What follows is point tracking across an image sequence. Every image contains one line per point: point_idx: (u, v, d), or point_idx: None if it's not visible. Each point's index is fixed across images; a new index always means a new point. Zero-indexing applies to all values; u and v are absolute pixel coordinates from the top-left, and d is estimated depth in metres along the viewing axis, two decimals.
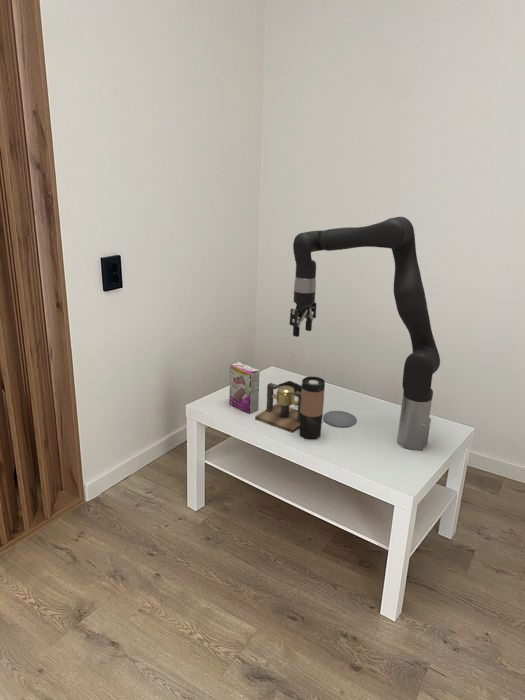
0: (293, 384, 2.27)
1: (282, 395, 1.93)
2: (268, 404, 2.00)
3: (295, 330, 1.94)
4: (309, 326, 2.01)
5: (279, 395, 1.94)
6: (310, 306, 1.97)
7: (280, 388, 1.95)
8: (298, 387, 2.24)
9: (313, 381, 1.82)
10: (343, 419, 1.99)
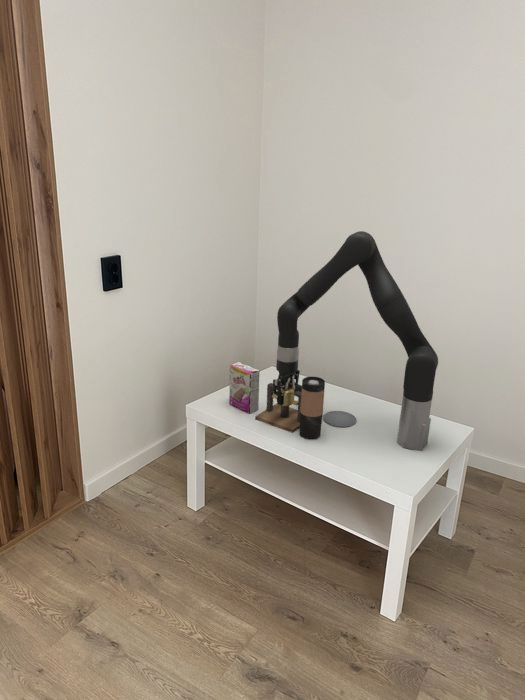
0: None
1: None
2: (268, 404, 2.00)
3: (279, 399, 1.92)
4: None
5: None
6: (293, 373, 1.95)
7: None
8: (298, 387, 2.24)
9: (313, 381, 1.82)
10: (343, 419, 1.99)
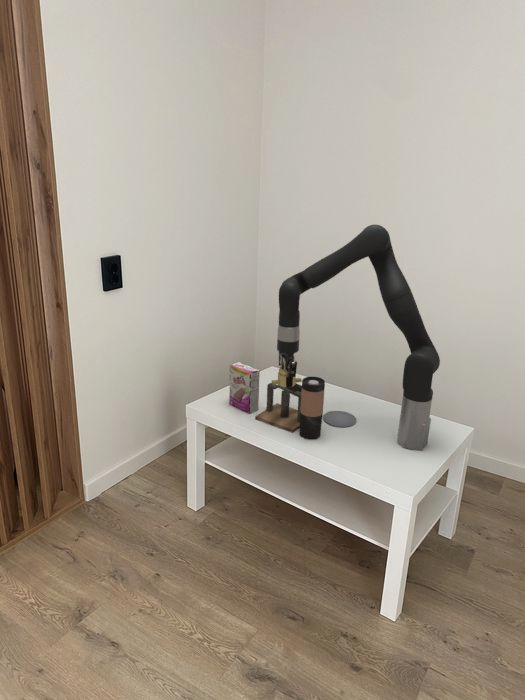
0: None
1: None
2: (268, 404, 2.00)
3: (291, 380, 1.89)
4: None
5: None
6: None
7: (283, 371, 1.91)
8: (298, 387, 2.24)
9: (313, 381, 1.82)
10: (343, 419, 1.99)
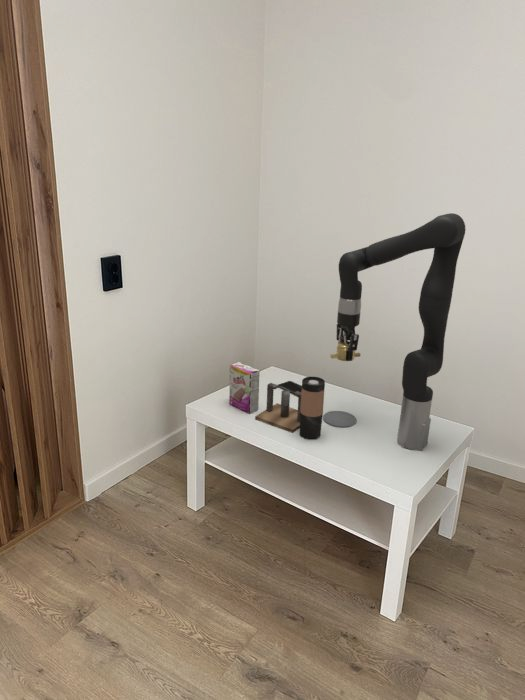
0: (293, 384, 2.27)
1: None
2: (268, 404, 2.00)
3: (351, 354, 1.87)
4: None
5: None
6: None
7: (342, 345, 1.88)
8: (298, 387, 2.24)
9: (313, 381, 1.82)
10: (343, 419, 1.99)
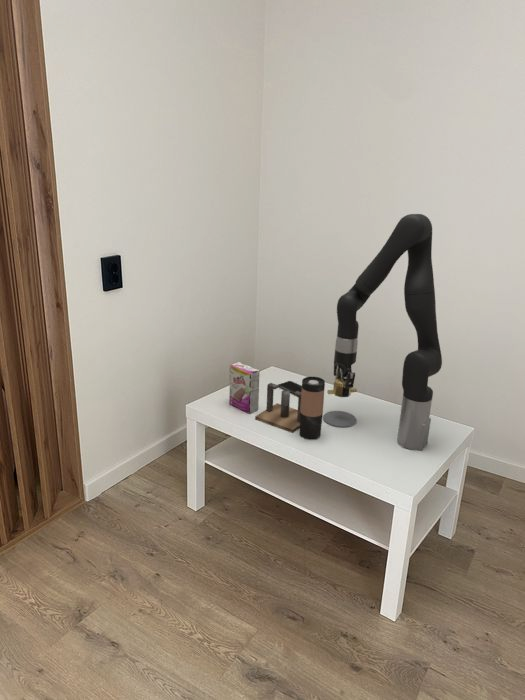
0: (293, 384, 2.27)
1: None
2: (268, 404, 2.00)
3: (347, 391, 1.92)
4: None
5: None
6: None
7: (339, 381, 1.93)
8: (298, 387, 2.24)
9: (313, 381, 1.82)
10: (343, 419, 1.99)
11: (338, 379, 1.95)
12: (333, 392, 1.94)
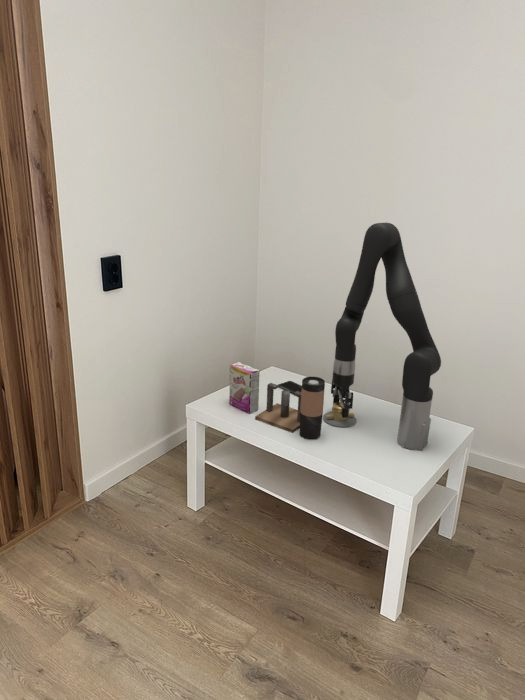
0: (293, 384, 2.27)
1: None
2: (268, 404, 2.00)
3: (347, 412, 1.93)
4: None
5: (341, 413, 1.95)
6: None
7: (337, 406, 1.96)
8: (298, 387, 2.24)
9: (313, 381, 1.82)
10: None
11: (336, 404, 1.98)
12: (331, 417, 1.97)
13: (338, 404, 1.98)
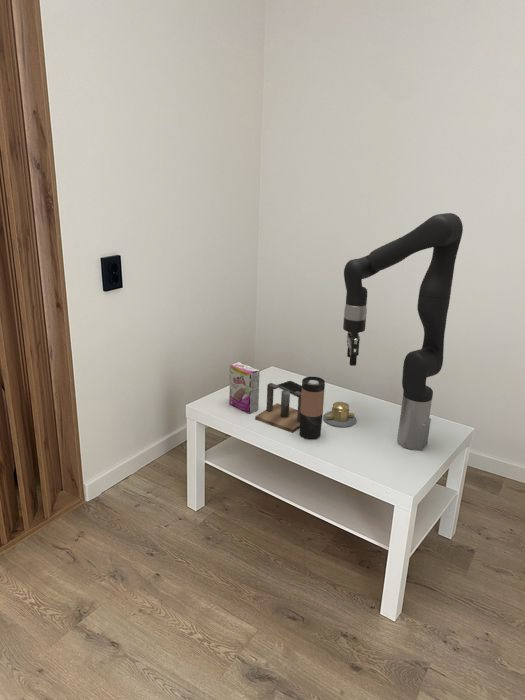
0: (293, 384, 2.27)
1: (345, 412, 1.96)
2: (268, 404, 2.00)
3: (354, 359, 1.88)
4: None
5: (341, 413, 1.95)
6: None
7: (337, 406, 1.96)
8: (298, 387, 2.24)
9: (313, 381, 1.82)
10: None
11: (336, 404, 1.98)
12: (331, 417, 1.97)
13: (338, 404, 1.98)
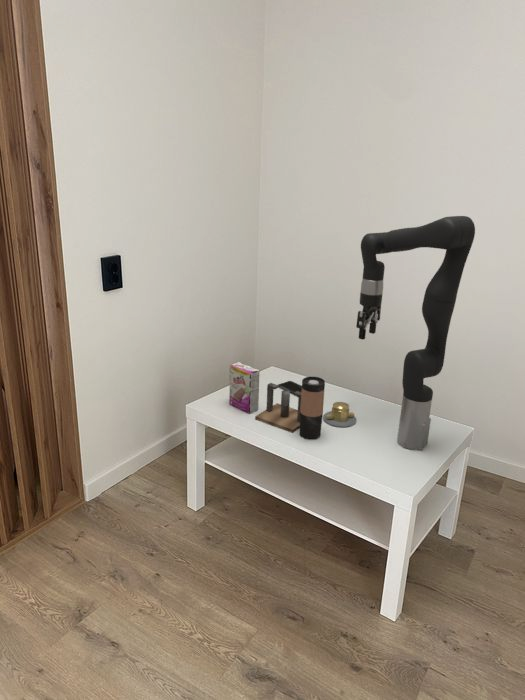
0: (293, 384, 2.27)
1: (345, 412, 1.96)
2: (268, 404, 2.00)
3: (361, 333, 1.90)
4: (373, 329, 1.97)
5: (341, 413, 1.95)
6: (376, 308, 1.94)
7: (337, 406, 1.96)
8: (298, 387, 2.24)
9: (313, 381, 1.82)
10: None
11: (336, 404, 1.98)
12: (331, 417, 1.97)
13: (338, 404, 1.98)
